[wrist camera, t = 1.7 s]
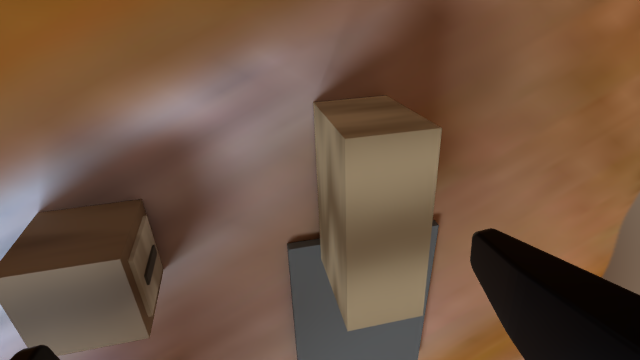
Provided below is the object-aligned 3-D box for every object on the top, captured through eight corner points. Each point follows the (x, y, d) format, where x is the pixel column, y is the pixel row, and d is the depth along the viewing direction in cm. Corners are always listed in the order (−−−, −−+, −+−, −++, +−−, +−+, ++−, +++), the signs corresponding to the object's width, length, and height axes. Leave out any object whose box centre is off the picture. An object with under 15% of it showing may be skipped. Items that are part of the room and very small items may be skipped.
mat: (414, 354, 32) (417, 360, 32) (299, 380, 30) (300, 387, 30) (434, 220, 25) (438, 225, 25) (287, 243, 24) (288, 249, 23)
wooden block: (380, 248, 25) (422, 315, 19) (321, 258, 24) (347, 331, 19) (386, 95, 20) (441, 127, 15) (313, 102, 20) (345, 139, 14)
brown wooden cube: (169, 268, 23) (156, 336, 18) (72, 283, 22) (35, 360, 17) (148, 197, 20) (128, 257, 16) (38, 211, 19) (-15, 280, 15)
